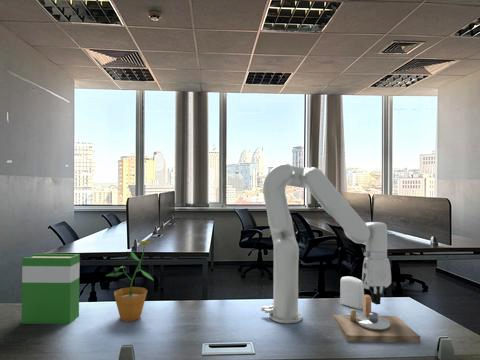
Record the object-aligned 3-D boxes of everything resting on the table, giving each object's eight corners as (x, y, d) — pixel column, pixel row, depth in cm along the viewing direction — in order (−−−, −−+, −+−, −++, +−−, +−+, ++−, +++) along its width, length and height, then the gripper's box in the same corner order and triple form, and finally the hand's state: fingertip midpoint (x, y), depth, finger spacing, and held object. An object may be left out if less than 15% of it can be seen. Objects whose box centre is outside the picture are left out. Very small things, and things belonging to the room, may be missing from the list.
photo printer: (338, 303, 153) (338, 275, 153) (344, 301, 155) (344, 273, 155) (359, 310, 145) (360, 280, 145) (365, 308, 147) (365, 278, 147)
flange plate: (395, 331, 119) (395, 307, 119) (363, 330, 120) (363, 307, 120) (380, 316, 133) (380, 294, 133) (351, 315, 133) (351, 294, 133)
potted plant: (159, 309, 144) (160, 236, 144) (145, 328, 125) (146, 244, 126) (116, 308, 145) (117, 235, 145) (96, 327, 126) (97, 243, 126)
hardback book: (21, 323, 129) (22, 257, 129) (33, 315, 136) (34, 253, 136) (69, 323, 129) (70, 258, 129) (78, 316, 136) (79, 254, 136)
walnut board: (347, 341, 116) (347, 323, 116) (333, 320, 134) (333, 304, 134) (419, 342, 116) (420, 324, 116) (396, 321, 134) (396, 305, 134)
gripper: (365, 257, 128) (365, 308, 127) (399, 255, 132) (399, 304, 132) (353, 253, 135) (352, 301, 135) (386, 252, 139) (385, 298, 139)
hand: (375, 303), depth 133 cm, fingers closed
